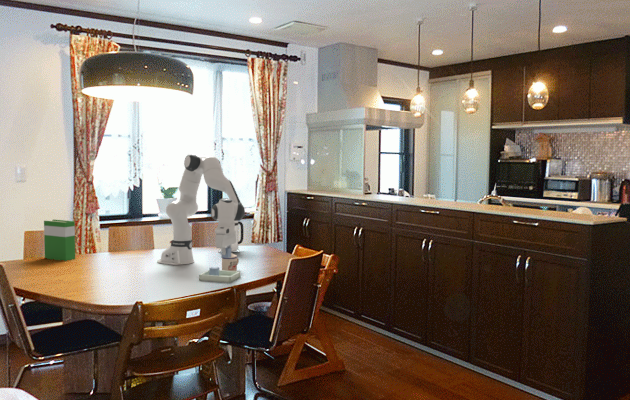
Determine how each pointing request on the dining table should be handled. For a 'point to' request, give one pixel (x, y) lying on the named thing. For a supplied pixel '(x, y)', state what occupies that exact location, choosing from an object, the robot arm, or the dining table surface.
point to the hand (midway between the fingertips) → (226, 253)
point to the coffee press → (235, 246)
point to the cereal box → (59, 239)
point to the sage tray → (220, 276)
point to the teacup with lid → (230, 263)
